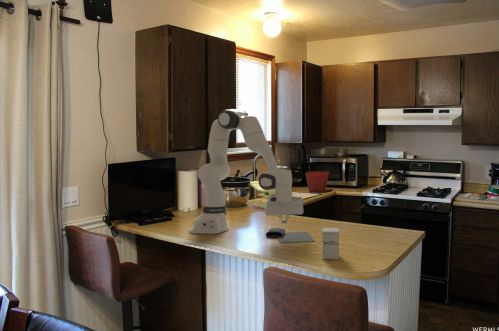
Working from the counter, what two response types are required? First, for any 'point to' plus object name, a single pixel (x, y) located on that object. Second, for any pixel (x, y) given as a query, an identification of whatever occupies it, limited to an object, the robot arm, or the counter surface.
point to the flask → (275, 232)
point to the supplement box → (330, 243)
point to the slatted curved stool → (258, 188)
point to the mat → (295, 237)
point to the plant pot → (317, 181)
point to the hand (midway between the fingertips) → (284, 223)
